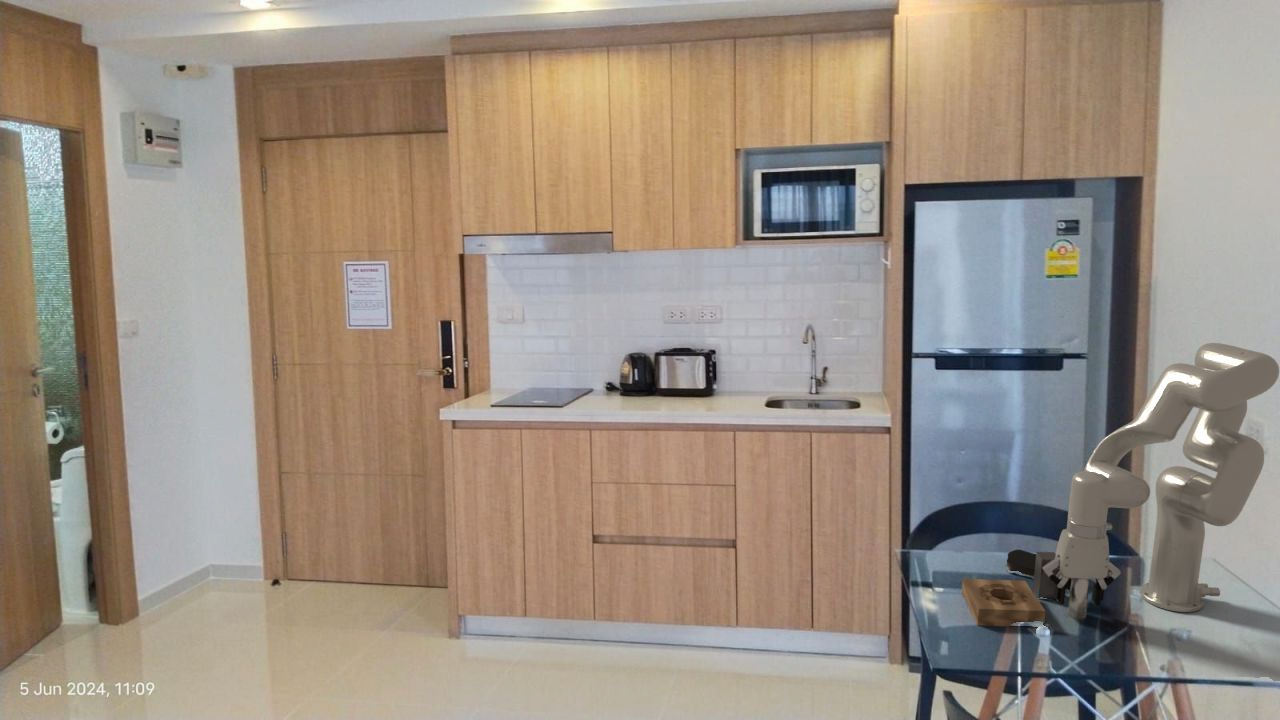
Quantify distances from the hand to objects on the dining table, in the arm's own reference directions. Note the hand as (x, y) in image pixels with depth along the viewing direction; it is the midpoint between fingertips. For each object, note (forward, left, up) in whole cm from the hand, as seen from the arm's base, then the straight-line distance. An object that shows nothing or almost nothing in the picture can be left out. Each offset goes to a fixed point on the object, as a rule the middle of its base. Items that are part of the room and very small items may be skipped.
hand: (1078, 601), depth 199 cm
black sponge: (+1, -20, -4) cm, 20 cm away
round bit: (0, 0, -3) cm, 3 cm away
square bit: (+4, -9, -3) cm, 10 cm away
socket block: (+16, -1, -3) cm, 16 cm away
